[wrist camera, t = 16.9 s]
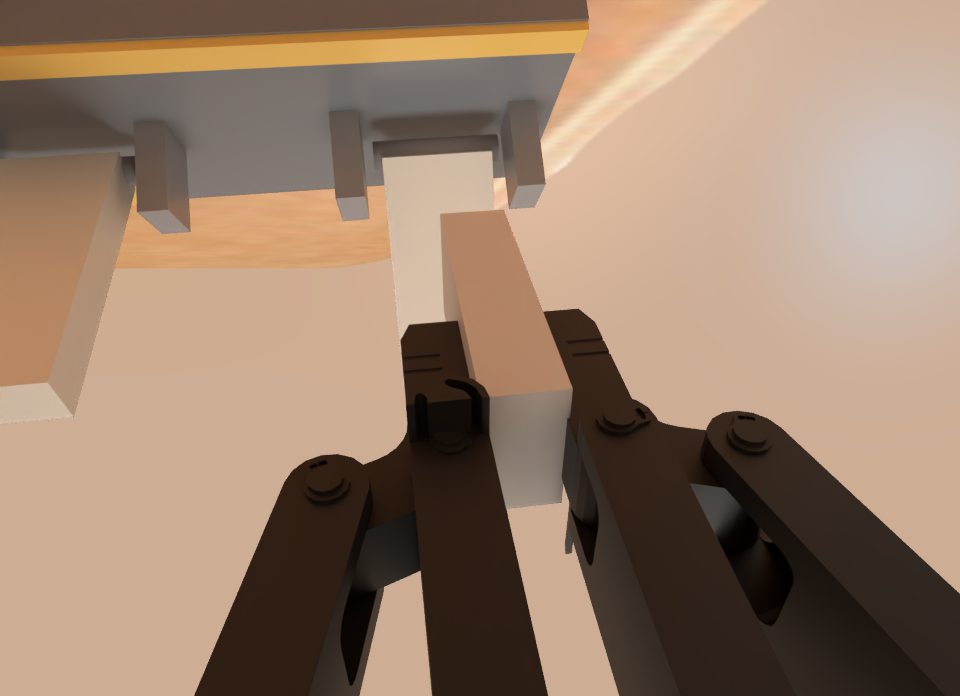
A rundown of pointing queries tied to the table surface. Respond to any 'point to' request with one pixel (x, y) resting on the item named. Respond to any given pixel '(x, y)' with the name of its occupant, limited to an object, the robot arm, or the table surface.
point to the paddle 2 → (429, 211)
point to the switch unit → (280, 89)
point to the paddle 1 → (56, 274)
